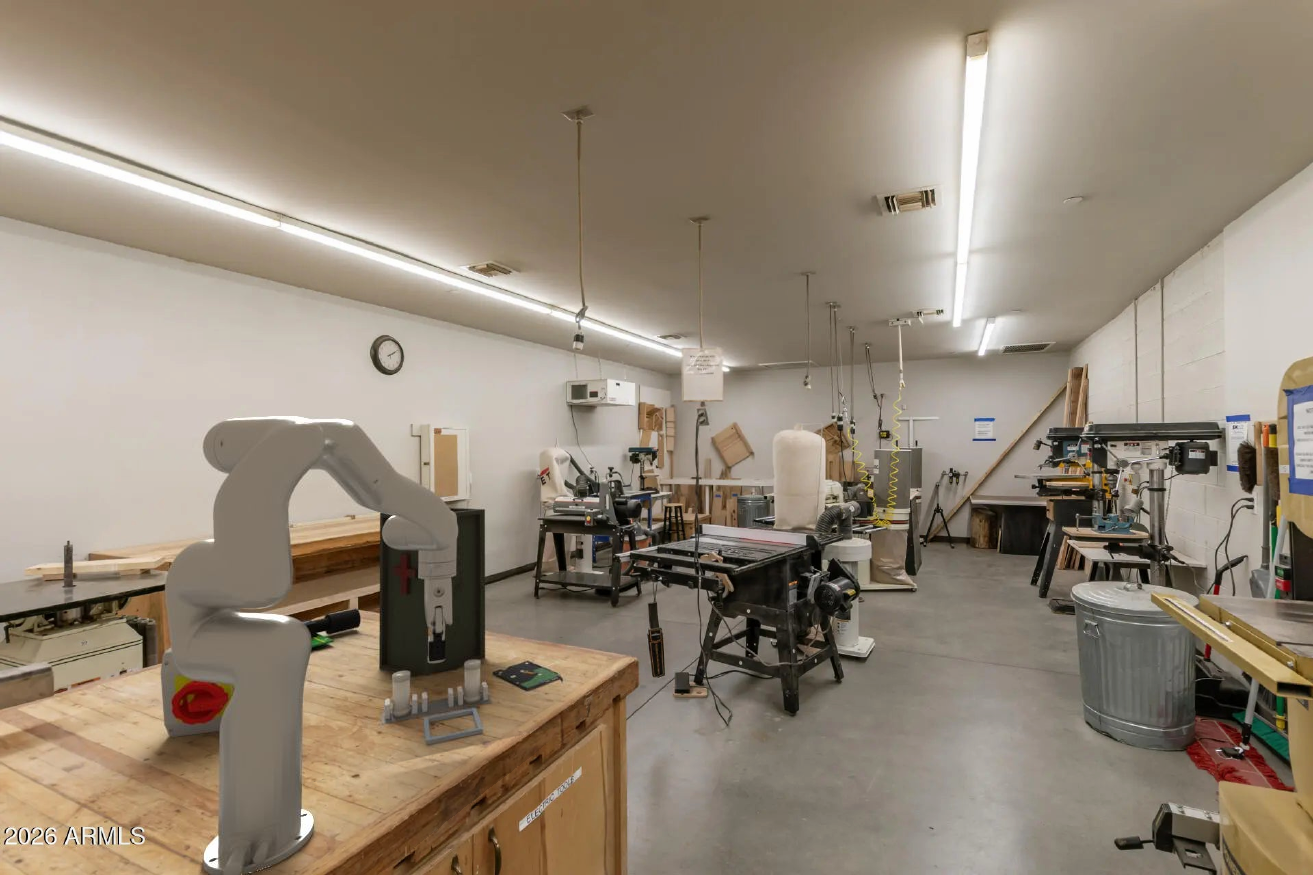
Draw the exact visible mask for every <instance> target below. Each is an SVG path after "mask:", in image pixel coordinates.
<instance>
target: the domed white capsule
mask: <svg viewBox="0 0 1313 875" xmlns="http://www.w3.org/2000/svg"><path fill="white" fill-rule="evenodd" d="M391 677H392V678H391V680H392V708H393V709H392V716H393V717H402V716H406V715H408V714H409V713H410V705H411V698H410V697H411V695H410V692H411V690H410V688H411V686H410V685H411V678H410V671H399V672H396V673H393V674H391Z"/></svg>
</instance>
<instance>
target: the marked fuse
mask: <svg viewBox="0 0 1313 875" xmlns="http://www.w3.org/2000/svg"><path fill="white" fill-rule="evenodd" d="M433 626H435V623H433ZM434 630H435V629H433V631H434ZM429 641H430V627H428V663H440V662H443V661H444V660H445V659H444V660H438V661H431V662H430V661H429Z"/></svg>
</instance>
